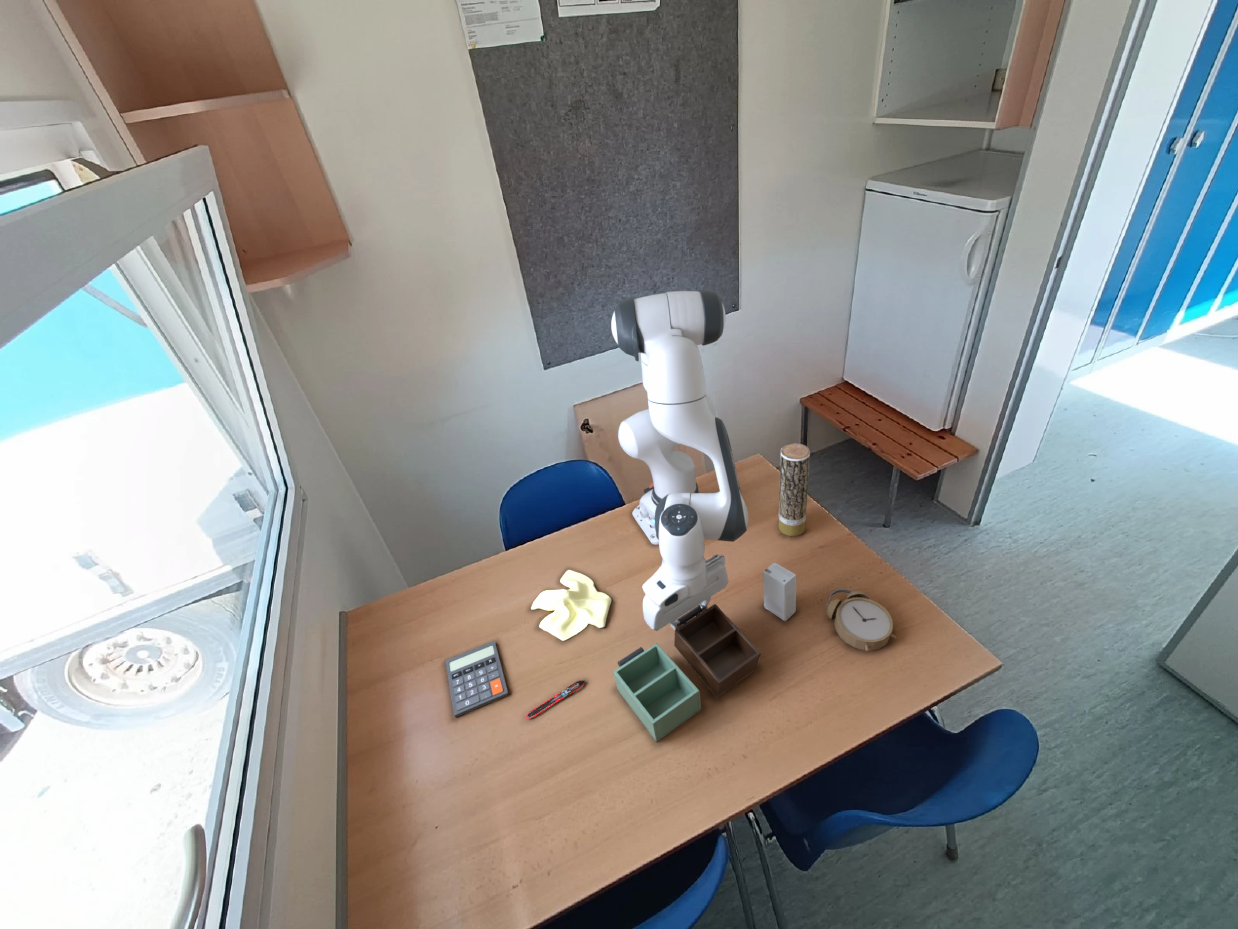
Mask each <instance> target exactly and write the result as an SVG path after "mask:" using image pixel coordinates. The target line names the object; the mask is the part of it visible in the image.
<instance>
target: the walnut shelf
mask: <svg viewBox="0 0 1238 929" xmlns="http://www.w3.org/2000/svg"><path fill="white" fill-rule="evenodd" d="M677 620H678V621H679V622H680V627H679V628H677V629H676V630H674V640H673V647H675V649H676V650H677V651H678V652H679V654H680V655H681V656H682V657H683V659H684V660H685V661H686V663H687V664H688V665H689V666H690V667H691V668H692V670H693V671H694V672H695V673H696V675H697V676H698V677H699V678H700V679H701V681H702V682H703V683H704V684H705V685H706V687H707V688H708V690H709V691H710V692H711V693H712V694H713V695H714V697H715V698H716V699H717V698H719V697H720V696H721V695H723V694H724V693H726V692H727V691H728V690H730V689H731V688H732V687H734V686H735V685H736V684H738V683H739V682H740V681H742V680H744V679H745V678H746V677H748V676H749V675H750V674H752V673H753V672H754V671H756V670H757V669H758V667H759V662H760V658H761V656H762V653H761V651H760V650H759V649H758V648H757V647H756V646H755V644H753V643H752V642H751V641H750V640H749V638H747V636H746V635H745V634H744V633H743V632H742V631H741V630H740V629H739V628H738V627H737V626H736V624H735V623H734V622H733V621H732V620H731V619H730V618H729V617H728V616H727V615H726V614H725V613H724V612H723V611H722V608H721V609H720V607H719V606H718V605H717V604H716V603H713V605H711V606H709V607H707V609H706V610H705V611H703V612H702V610H701V608H700V607H699V606H696V607H694V608H692V609H691V610H689V611H688V612H686V613H685V614H683V615H681V616H680V617H678V618H677Z"/></svg>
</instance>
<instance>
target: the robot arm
mask: <svg viewBox="0 0 1238 929" xmlns="http://www.w3.org/2000/svg"><path fill="white" fill-rule="evenodd" d="M722 301H723V300H722V298H721V296H720V295H719V294H718V293H717V292H716V291H714V290H711V289H698V290H695V291H694V290H676V291H675V290H673V291H672V290H671V291H666V292H663V293H656V294H649V295H645V296H641V297H637V298H633V297H629V298H626V299H624V300H623V299H622V300H621V301H619V302H617V303H616V304H615V307H614V311H613V313H612V317H611V323H610V327H611V334H612V337H613V339H614V342H616V344H617V347H618V348H619V349H620V350H621V351H622V352H623V353H624V354H626V355H629V356H631V357H633V358H634V360H635V361H636V362H638V363H639V362H640V364H641V366H640V367H641V377H642V386H643V388H644V390H645V391H646V394H647V405H648V408H646V409H644V410H639V411H637V412H636V413H634V414H633V415H631V416H629V417H628V418H626V419H624V420H623V421H621V423H620V425H619V427H618V432H617V436H618V437H617V438H618V443H619V445H620V447H621V449H622V450H623V452H624V453H625V454H626V455H628V456H629V457H630V458H633V459H635V460H639V461H641V462H643V463H645V465H647V467H648V468H649V470H650V473H651V477H652V482H651V483H650V484H648V487H646V488H644V489H643V493H644V494H643V495H642V496H641V497H640V499H639V503H638V505H637V506H636V507H634V509H633V510H632V517H633V518H634V520H635V521H636V523H637V524H638V526H639V528H641V530H642V531H643V533H644V535H645V536H646V537H647V539H648V540H649V542H650V543H651V545H655V546H656V545H657V546H658V548H659V552H660V553H659V554H660V556H661V559H662V560H661V565H660V566H659V568H658V569H657V570H656V571H655V573H653V575H652V576H650V577H649V578H648V579H647V580H646V581H645V582H644V583H643V584H642V591H643V593H644V594H645V595H644V596H643V600H642V614H643V619H644V622H645V623H646V624H647V626H648V627H649V628H650V629H651V630H653V631H656V632H657V631H660V630H661V629H662V628H665V627H666V626H668V625H669V624H670V627H671V628H672V629H673V630H674V631H675V630H676V629H677V628H679V627H680V622H679V621H678V620H677V619H678V618H680V617H681V616H683V615H684V614H686V613H687V612H689V611H691V610H692V609H694V608H695V607H697V606H699V607H700V608H701V610H702V612H703V611H705V610H706V609H708V605H709V603H710V602H711V599H712V597H714V596H715V595H716V594H718V593H719V592H721V591H722V590H724V589H725V588H726V587H727V586H728V584H729V575H728V571H727V568H726V567H725V565H726V558H725V555H723V554H717V553H716V554H714V555H713V556H712V557H710V558H708V559H706V558H705V556H704V554H705V550H706V546H705V545H706V544H705V541H707V540H709V541H713V540H714V541H719V542H720V541H721V542H731V543H732V542H735V541H737V540H738V539H739V538H740V537H742V536H743V535H744V534H745V533H746V532H747V531H748V525H749V510H748V508H747V504H746V501H745V499H744V497H743V494H742V490H741V487H740V481H739V477H738V472H737V468H736V463H735V459H734V454H733V450H732V446H731V442H730V437H729V434H728V430H727V426H726V425H725V423H724V421H723V419H721V418H719V409H718V407H717V404H716V403H715V401H714V400H713V398H712V397H710V396H709V395H708V394H707V389H706V388H707V387H706V379H705V371H704V366H703V361H702V357H701V354H700V349H699V346H700V345H701V346H703V347H704V346H707V345H711V344H714V343H716V342H718V341H719V339H720V338H721V337H722V336H723V333H724V328H725V326H726V319H727V318H726V317H727V316H726V314H727V313H726V308H725V305H724V303H723V302H722ZM639 354H640V356H639ZM681 445H682V446H686V447H690V448H692V449H694V450H697V451H699V452H701V453H703V454H705V455H706V456H707V457H709V459H710V460H711V462H712V464H713V467H714V472H715V476H716V480H717V484H718V488H719V491H717V492H700V489H699V485H698V483H697V475H696V465H695V462H694V460H693V459H692V457H691V456H690V455H689V454H687V453H685V452H684V451H681V450H677V449H675V448H676V447H678V446H681ZM702 612H701V613H702Z"/></svg>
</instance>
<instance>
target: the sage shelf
mask: <svg viewBox="0 0 1238 929" xmlns="http://www.w3.org/2000/svg"><path fill="white" fill-rule="evenodd" d="M617 665H618V667H617V668H616V669H614V670H613V671H612V674H613V677H614V682H615V686H616V689H617V691H618V693H619V695H620V696H621V697H622V699H623V700H624V701H625V702H626V704H627V705H628V706H629V708H630V709H631V710H632V711H633V713H634V714H635V716H636V718H638V719H639V721H640V722H641V724H642V725H643V726H644V727H645V729H646V731H647V732H648V733H649V734H650V736H651V737H652V738H653V740H654V741H655V742H656V743H657V742H659V741H660V740H662V739H663V738H665V736H667V735H669V734H670V733H672V732H673V731H674V730H675V729H677V728H678V727H680V726H681V725H682V724H684V723H685V722H686V721H688V720H689V719H690V718H692V717H693V716H695V715H696V714H697V713H699V712H700V711H701V710H702V706H701V704H702V703H701V695H700V690H699V689H698V688H697V687H696V685H695V684H694V683H693V682H692V681H691V679H689V677H688V676H687V675H686V674H685V672H683V671H682V670H681V669H680V667H679V666H678V665H677V664H676V663H675V661H674V660H672V658H670V656H669V655H668V654H667V653H666V651H664V649H663V648H662V647H661V646H660V645H659V644H658V643H654V644H653V645H651V646H650V647H648V648H647V649H644V648H643V647H642V646H640V647H638V648H637V649H635V650H634V651H632V652H631V653H629V654H627V655H626V656H625V657H623V658H621V659H620V660H618V661H617Z"/></svg>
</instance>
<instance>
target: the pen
mask: <svg viewBox="0 0 1238 929" xmlns="http://www.w3.org/2000/svg"><path fill="white" fill-rule="evenodd" d="M585 682H586V680H585V679H584V680H580V679H579V680H577V681H575V682H573V683H572V684H570V685H568V686H567V687H566V688H565V689H564V690H560V692H558V693H557V694H554V695H553V696H551V697H550V698H549V699H547V700H545V701H544V702H543V703H541V704H539V705H538V706H536V707H534V708H533V709H531V710H529V711H528V713H527V714H526V716H525V718H526V719H533V718H535V717H536V716H538V715H539V714H541V713H542V712H544V711H545V710H547V709H549V708H550V707H552V706H554V705H555V704H556V703H558V702H560V701H561V700H562V699H565V698H566V697H567V696H569V695H572V694H574V693H575V692H577V691H578V690H580V689H581V688H582V687H583V686H584V684H585Z"/></svg>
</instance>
